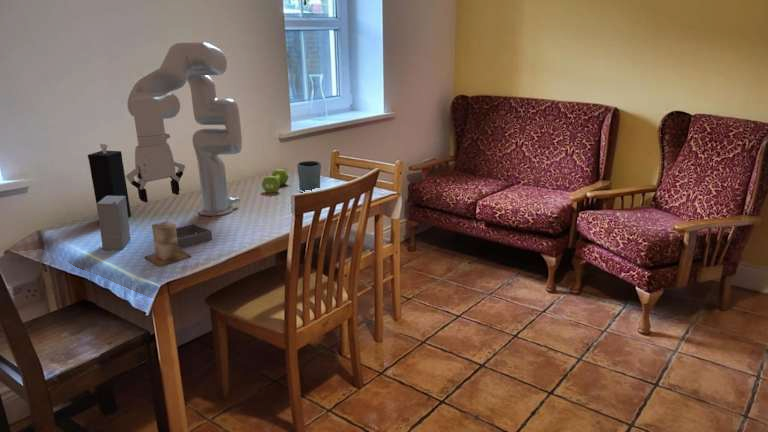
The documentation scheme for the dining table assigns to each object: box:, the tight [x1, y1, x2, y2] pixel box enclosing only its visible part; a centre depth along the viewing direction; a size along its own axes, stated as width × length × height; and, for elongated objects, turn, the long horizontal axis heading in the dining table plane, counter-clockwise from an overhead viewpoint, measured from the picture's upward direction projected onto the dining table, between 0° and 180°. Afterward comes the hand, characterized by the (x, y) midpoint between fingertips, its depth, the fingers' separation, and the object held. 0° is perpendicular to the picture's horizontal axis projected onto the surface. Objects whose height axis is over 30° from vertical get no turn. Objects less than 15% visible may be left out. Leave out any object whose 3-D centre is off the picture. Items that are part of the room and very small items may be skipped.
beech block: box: [151, 220, 180, 260], centre depth 172 cm, size 5×5×10 cm
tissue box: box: [87, 143, 132, 218], centre depth 206 cm, size 8×8×28 cm
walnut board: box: [143, 248, 192, 267], centre depth 174 cm, size 10×10×1 cm
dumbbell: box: [261, 168, 290, 194], centre depth 248 cm, size 16×8×7 cm, turn 172°
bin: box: [176, 223, 213, 249], centre depth 188 cm, size 11×11×3 cm
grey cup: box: [296, 160, 322, 192], centre depth 243 cm, size 10×10×12 cm
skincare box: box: [96, 196, 132, 251], centre depth 182 cm, size 8×7×16 cm
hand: (160, 197), depth 168 cm, fingers open, 9 cm apart
